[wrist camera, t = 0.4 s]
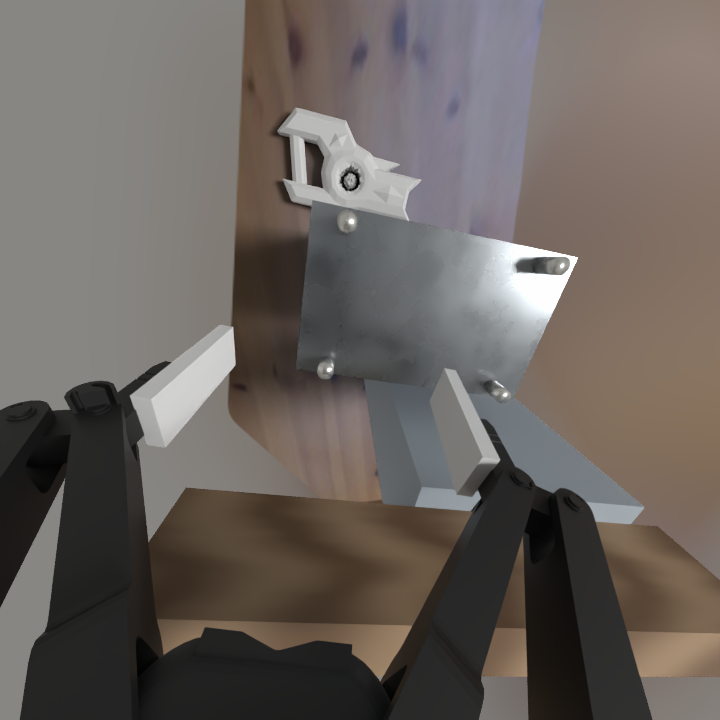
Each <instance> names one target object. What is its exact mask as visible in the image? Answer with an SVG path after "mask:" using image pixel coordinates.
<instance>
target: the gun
mask: <svg viewBox="0 0 720 720" xmlns="http://www.w3.org/2000/svg"><path fill="white" fill-rule="evenodd" d="M277 132H278V133H279V135H282V136H286V137H290V149H291V163H292V178H293V181H290V180H286V179H283V181H284V184H285V186H286V189H287V191H288V194H289V196H290V198H291V201H292V202H294V203H298V204H302V205H307V206H311V207H312V200H315V201H320V202H324V203H329V204H333V205H338V206H343V207H347V208H352V209H356V210H361V211H366V212H370V213H375V214H379V215H384V216H389V217H393V218H398V219H402V220H407V221H409V219H408V216H407V214H406V211H405V206H406V202H407V198H408V194H409V192H410V191H411V190H412V189H413V188H414V187H415V186H416V185H417V184H419V183H420V182H421V180H420V179H416V178H412V177H408V176H404V175H400V174H396V173H392V172H389V171H391V170H392V169H394V168H396V167H397V166H399V165H400V164H396V163H393V162H390V161H386V160H383V159H380V158H376V157H373V156H372V155H371V153H370V152H368V151H366V150H365V149H363V148H362V147H360V146H358V145H357V144H356V143H355V140H354V138H353V136H352V133H351V131H350V129H349V126H348V124H347V122H346V121H345V120H342V119H338V118H334V117H330V116H326V115H323V114H319V113H315V112H311V111H307V110H304V109H300V108H295V109H294V111H293V112H292V113H291V114H290V115H289V117H288V118H287V119H286V120H285V122H284V123H283V124H282V125H281V127H280V128H279V129H278V130H277ZM304 141H305V142H309V143H313V144H317V145H318V146H319V148H320V150H321V152H322V154H323V156H324V161H323V166H322V171H321V177H322V184H323V188H319V187H315V186H311V185H307V175H306V159H305V144H304ZM349 171H351V173H349ZM352 171H353V172H354V173H355V174H358V178H360V185H358V188H357V190H355V189H354V192H353V190H352V191H351V192H350V191H346V190H345V189H344V188H342V184H341V182H342V179H341V177H343V176H344V175H345V174H347V173H348V175H347V176H345V177H344V185H345V186H346V187H347V189H353V188H355V186H356V183H357V178H356V176H355V175H353V173H352Z"/></svg>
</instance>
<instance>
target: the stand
mask: <svg viewBox="0 0 720 720" xmlns="http://www.w3.org/2000/svg"><path fill="white" fill-rule="evenodd" d="M364 384H365V390H366V397H367V403H368V410H369V417H370V423H371V430H372V436H373V443H374V449H375V456H376V463H377V469H378V476H379V482H380V489H381V495H382V502H383V504H390V505H402V506H414V507H426V508H438V509H450V510H462V511H471V510H472V509H473V507H474V506H475V505H476V504H477V502H478V501H479V500H480V499H481V497H480V494H479V491H478V490H477V491H476V493H475V494H474V495H473V497H467V496H461V495H456V492H455V488H454V485H453V481H452V478H451V474H450V471H449V467H448V464H447V460H446V457H445V453H444V450H443V446H442V443H441V439H440V436H439V432H438V429H437V425H436V422H435V418H434V415H433V411H432V408H431V404H430V399H431V397H432V394H433V392H434V390H435V389H433V388H426V387H419V386H412V385H405V384H397V383H390V382H383V381H376V380H369V379H364ZM467 394H468V396H469V398H470V400H471V402H472V404H473V406H474V408H475V410H476V412H477V414H478V416H479V418H481V419H486V420H487V421H488V422H489V423H490V424H491V425H492V426H493V427H494V428H495V430H496V432H497V434H498V437H500V439H501V441H502V444H503V445H504V447H505V449H506V450H507V452H508V454H509V456H510V458H511V460H512V461H513V463H514V465H515V467H517V468H519V469H521V470H523V471H524V472H525V473H527V474H528V475H529V476H530V477H531V478H532V480H533V481H534V483H535V485H536V486H538V487H540V488H543V489H545V490H547V491H549V492H552V493H554V492H555V491H556V490H558V489H559V488H566V489H568V490H571V491H573V492H574V493H576V494H578V495H579V496H580V497H581V498H583V499H584V500H585V501H586V503H587V504H588V505H589V506H590V508H591V510H592V512H593V514H594V518H595V521H596V522H608V523H620V524H631V523H632V522H633V521H634V520H635V518H636V517H637V516H638V515H639V514H640V512H641V511H642V510H643V509H644V506H643V505H641V504H640V503H639V502H638V501H637V500H635V499H634V498H633V497H632V496H631V495H629V494H628V493H627V492H626V491H625V490H623V489H622V488H621V487H620V486H619V485H618V484H616V483H615V482H614V481H613V480H612V479H610V478H609V477H608V476H607V475H606V474H604V473H603V472H602V471H601V470H600V469H598V468H597V467H596V466H595V465H594V464H592V463H591V462H590V461H589V460H588V459H587V458H585V457H584V456H583V455H582V454H581V453H579V452H578V451H577V450H576V449H575V448H573V447H572V446H571V445H570V444H569V443H567V442H566V441H565V440H564V439H563V438H562V437H560V436H559V435H558V434H557V433H555V432H554V431H553V430H552V429H551V428H550V427H548V426H547V425H546V424H545V423H544V422H542V421H541V420H540V419H539V418H538V417H537V416H535V415H534V414H533V413H532V412H531V411H529V410H528V409H527V408H526V407H525V406H523V405H522V404H521V403H520V402H519V401H517V400H516V399H515V398H513V400H512V399H510V400H509V401H508V402H506V403H503V404H501V403H498V402H497V401H496V400H495V399H494V398H493V397H490V396H483V395H476V394H469V393H467Z"/></svg>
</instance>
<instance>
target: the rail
mask: <svg viewBox="0 0 720 720" xmlns="http://www.w3.org/2000/svg"><path fill="white" fill-rule="evenodd" d="M471 514H472V512H471V511H462V510H450V509H438V508H426V507H414V506H402V505H390V504H378V503H365V502H353V501H341V500H329V499H317V498H305V497H292V496H280V495H268V494H256V493H244V492H231V491H219V490H208V489H207V490H206V489H196V488H186V489H185V490H184V492H183V493H182V494H181V496H180V497H179V499H178V500H177V502H176V503H175V505H174V506H173V508H172V509H171V510H170V512H169V513H168V515H167V516H166V518H165V519H164V521H163V522H162V524H161V525H160V527H159V528H158V529H157V531H156V532H155V534H154V535H153V537H152V538H151V540H150V542H149V543H148V544H149V554H150V564H151V573H152V583H153V592H154V602H155V611H156V618H157V623H158V627H159V630H160V634H161V639H162V646H163V654H164V655H165V654H166V653H167V652H169V651H170V650H172V649H174V648H175V647H177V646H179V645H181V644H183V643H185V642H187V641H190V640H192V639H195V638H199V637H201V636H202V633H203V631H204V628H205V627H209V628H217V629H226V630H234V631H242V632H244V633H246V634H248V635H249V636H251V637H253V638H255V639H256V640H258V641H260V642H262V643H264V644H265V645H267V646H269V647H271V648H273V649H275V650H282V649H286V648H290V647H293V646H297V645H301V644H305V643H309V642H313V641H316V640H319V641H328V642H336V643H345V644H352V654H353V655H355V656H356V657H358V658H359V659H360V660H362V661H363V662H364V663H365V664H366V665H367V666H368V667H369V668H370V669H371V670H372V671H373V673H374V674H375V675H376V676H384V674H385V672H386V670H387V669H388V667H389V665H390V663H391V662H392V660H393V659H394V657H395V656H396V654H397V653H398V651H399V650H400V648H401V646H402V645H403V643H404V641H405V639H406V637H407V635H408V633H409V632H410V630H411V628H412V626H413V624H414V622H415V620H416V618H417V616H418V615H419V613H420V611H421V609H422V607H423V605H424V603H425V601H426V599H427V597H428V596H429V594H430V592H431V590H432V588H433V586H434V584H435V582H436V580H437V578H438V577H439V575H440V573H441V571H442V569H443V567H444V565H445V563H446V561H447V559H448V558H449V556H450V554H451V552H452V550H453V548H454V546H455V544H456V542H457V541H458V539H459V537H460V535H461V533H462V531H463V529H464V527H465V525H466V523H467V522H468V520H469V518H470V516H471ZM596 525H597V528H598V532H599V535H600V539H601V542H602V546H603V549H604V553H605V556H606V560H607V563H608V567H609V570H610V574H611V577H612V581H613V584H614V588H615V591H616V595H617V598H618V602H619V605H620V609H621V612H622V616H623V619H624V623H625V626H626V630H627V633H628V637H629V640H630V643H631V647H632V650H633V654H634V657H635V661H636V664H637V668H638V671H639V675H640V677H720V580H719V579H718V578H716V577H715V576H714V575H713V574H712V573H711V572H710V571H708V570H707V569H706V568H705V567H704V566H703V565H702V564H700V563H699V562H698V561H697V560H696V559H695V558H694V557H692V556H691V555H690V554H689V553H688V552H686V551H685V550H684V549H683V548H682V547H681V546H680V545H679V544H677V543H676V542H675V541H674V540H673V539H672V538H670V537H669V536H668V535H667V534H666V533H665V532H664V531H662V530H661V529H660V528H659V527H657V526H644V525H632V524H620V523H608V522H596ZM481 676H527V650H526V617H525V584H524V552H523V537H522V541H521V544H520V547H519V551H518V554H517V557H516V561H515V564H514V567H513V571H512V574H511V577H510V581H509V584H508V587H507V591H506V594H505V597H504V601H503V604H502V607H501V611H500V614H499V617H498V621H497V624H496V627H495V631H494V634H493V637H492V641H491V644H490V647H489V651H488V654H487V657H486V661H485V664H484V667H483V671H482V675H481Z"/></svg>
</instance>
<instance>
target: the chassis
mask: <svg viewBox="0 0 720 720" xmlns="http://www.w3.org/2000/svg"><path fill="white" fill-rule="evenodd" d="M576 260H577V257H572V256H567V255H563V254H558V253H554V252H549V251H545V250H540V249H536V248H531V247H526V246H522V245H517V244H513V243H508V242H503V241H499V240H494V239H490V238H485V237H480V236H476V235H471V234H467V233H462V232H457V231H453V230H448V229H444V228H439V227H434V226H430V225H425V224H421V223H416V222H412V221H407V220H402V219H398V218H393V217H389V216H384V215H379V214H375V213H370V212H366V211H361V210H356V209H352V208H347V207H343V206H338V205H333V204H329V203H324V202H320V201H315V200H312V207H311V218H310V228H309V238H308V248H307V259H306V269H305V279H304V289H303V300H302V310H301V320H300V330H299V341H298V351H297V361H296V369H297V370H304V371H312V372H317V374H318V376H319V377H320V378H322V379H329V378H331V377H332V376H333V375H340V376H347V377H355V378H362V379H369V380H376V381H383V382H390V383H397V384H405V385H412V386H419V387H426V388H433V389H435V388H436V385H437V383H438V381H439V379H440V376H441V374H442V372H443V370H444V368H446V369H451V370H456V372H457V374H458V376H459V378H460V380H461V382H462V384H463V386H464V388H465V390H466V392H467V393H469V394H476V395H483V396H490V397H493V398H494V399H495V400H496V401H497V402H498V403H501V404H503V403H506V402H508V401H509V400H510V399H512V400H513V398H514V395H515V393H516V391H517V389H518V387H519V385H520V382H521V380H522V378H523V376H524V374H525V371H526V369H527V367H528V365H529V362H530V361H531V358H532V356H533V354H534V352H535V350H536V347H537V345H538V343H539V341H540V339H541V336H542V334H543V332H544V330H545V328H546V326H547V323H548V321H549V319H550V317H551V315H552V312H553V310H554V308H555V306H556V304H557V302H558V299H559V297H560V295H561V293H562V291H563V288H564V286H565V284H566V282H567V280H568V278H569V276H570V273H571V271H572V269H573V266H574V265H575V262H576Z"/></svg>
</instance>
